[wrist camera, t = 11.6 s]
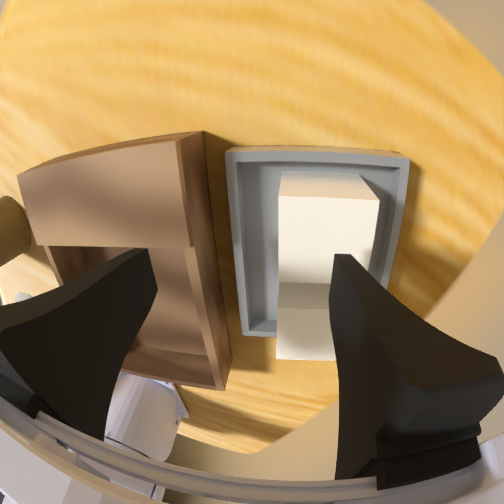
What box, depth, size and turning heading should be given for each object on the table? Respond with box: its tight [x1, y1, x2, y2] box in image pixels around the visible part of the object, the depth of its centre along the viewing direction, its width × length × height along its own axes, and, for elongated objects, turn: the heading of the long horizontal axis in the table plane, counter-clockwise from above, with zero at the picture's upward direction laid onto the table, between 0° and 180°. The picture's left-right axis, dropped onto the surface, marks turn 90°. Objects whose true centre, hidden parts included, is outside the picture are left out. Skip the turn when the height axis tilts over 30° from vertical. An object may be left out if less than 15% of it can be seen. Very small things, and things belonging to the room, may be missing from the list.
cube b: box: [278, 171, 380, 284], centre depth 13 cm, size 4×4×4 cm
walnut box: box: [17, 131, 232, 391], centre depth 18 cm, size 18×12×4 cm, turn 3°
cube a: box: [276, 282, 336, 360], centre depth 16 cm, size 4×4×4 cm
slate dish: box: [225, 145, 410, 337], centre depth 16 cm, size 12×9×2 cm
